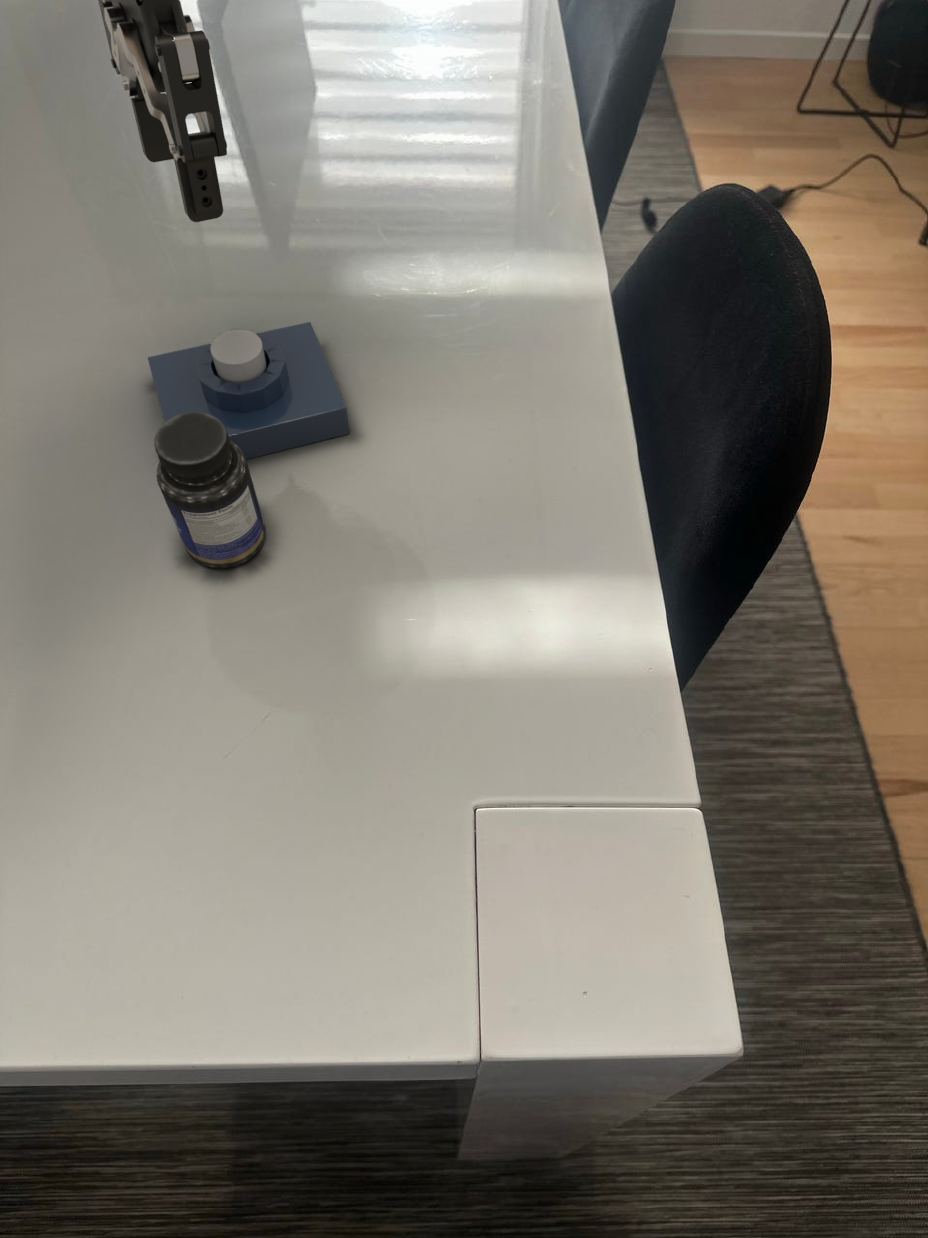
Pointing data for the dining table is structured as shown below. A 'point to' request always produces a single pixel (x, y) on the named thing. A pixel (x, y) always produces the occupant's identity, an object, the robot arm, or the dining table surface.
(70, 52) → the dining table surface
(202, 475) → the pill bottle
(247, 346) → the white push button
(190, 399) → the blue push button box
